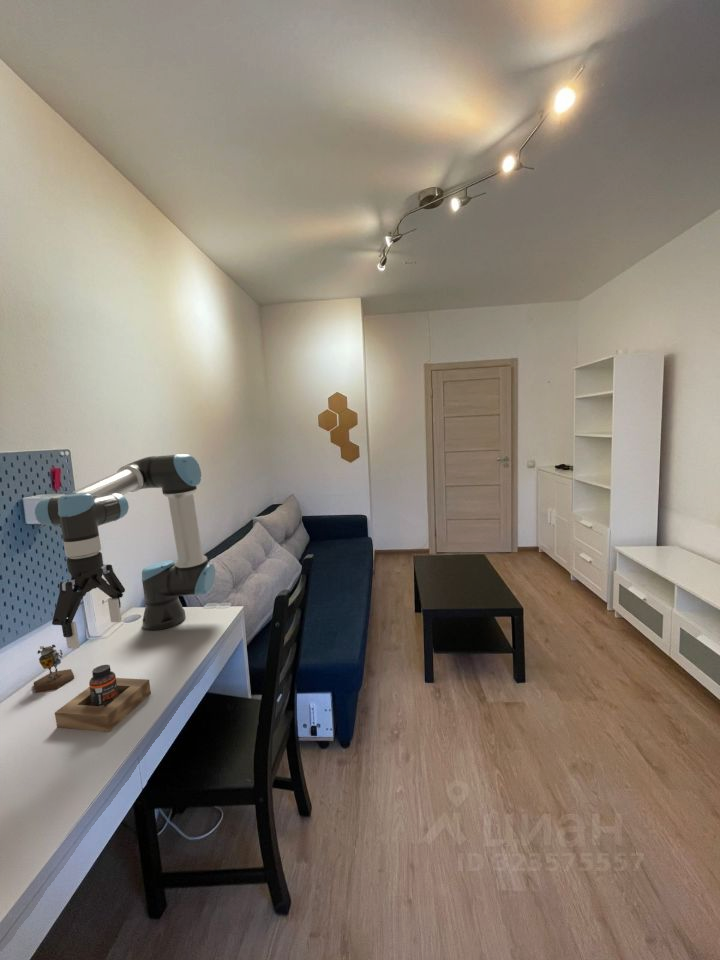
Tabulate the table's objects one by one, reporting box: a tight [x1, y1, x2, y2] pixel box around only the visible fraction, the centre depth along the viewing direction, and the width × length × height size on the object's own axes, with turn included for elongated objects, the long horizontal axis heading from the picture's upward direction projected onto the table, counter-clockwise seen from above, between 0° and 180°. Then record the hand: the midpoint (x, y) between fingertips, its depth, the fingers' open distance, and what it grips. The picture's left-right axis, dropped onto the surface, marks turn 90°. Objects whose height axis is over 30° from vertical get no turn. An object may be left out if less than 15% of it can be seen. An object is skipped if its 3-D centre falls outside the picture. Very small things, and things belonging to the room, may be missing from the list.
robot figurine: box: [33, 644, 75, 694], centre depth 123 cm, size 11×9×12 cm
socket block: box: [54, 677, 152, 733], centre depth 109 cm, size 15×15×4 cm
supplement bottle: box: [88, 664, 118, 707], centre depth 108 cm, size 6×6×11 cm
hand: (96, 634), depth 107 cm, fingers open, 13 cm apart
